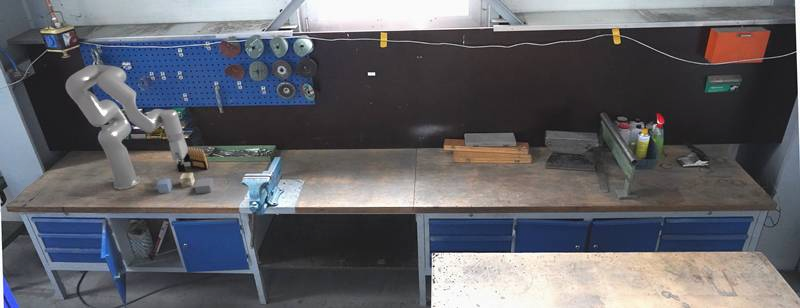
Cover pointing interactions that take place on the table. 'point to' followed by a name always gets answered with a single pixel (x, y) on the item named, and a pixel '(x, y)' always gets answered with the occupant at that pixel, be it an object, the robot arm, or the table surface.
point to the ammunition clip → (198, 158)
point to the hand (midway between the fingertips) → (185, 166)
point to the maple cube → (187, 179)
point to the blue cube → (164, 185)
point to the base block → (204, 185)
